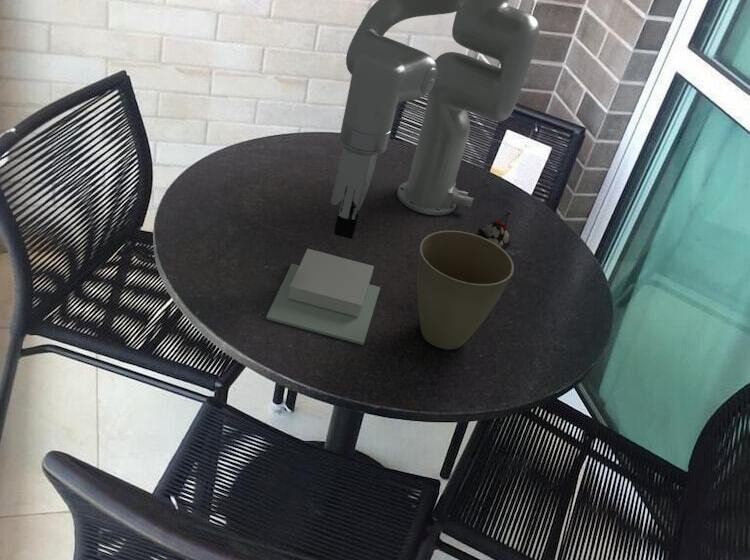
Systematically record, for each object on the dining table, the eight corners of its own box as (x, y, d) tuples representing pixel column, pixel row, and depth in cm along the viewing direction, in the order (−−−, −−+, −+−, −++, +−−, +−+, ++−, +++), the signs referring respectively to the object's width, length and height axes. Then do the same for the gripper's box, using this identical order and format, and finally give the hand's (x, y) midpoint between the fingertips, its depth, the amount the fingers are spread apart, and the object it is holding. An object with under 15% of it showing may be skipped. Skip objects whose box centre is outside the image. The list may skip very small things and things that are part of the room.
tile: (374, 266, 141) (361, 305, 131) (371, 278, 143) (358, 318, 133) (307, 248, 142) (290, 286, 132) (305, 261, 143) (287, 299, 133)
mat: (379, 289, 141) (380, 287, 141) (363, 345, 128) (363, 342, 128) (291, 265, 142) (291, 263, 142) (265, 318, 129) (266, 316, 128)
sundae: (498, 280, 151) (523, 212, 143) (491, 299, 146) (515, 229, 137) (465, 268, 152) (487, 200, 144) (456, 286, 147) (479, 216, 139)
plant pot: (480, 313, 142) (506, 238, 133) (491, 371, 129) (521, 291, 120) (396, 301, 140) (417, 223, 131) (399, 358, 128) (423, 276, 119)
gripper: (350, 110, 131) (331, 207, 142) (331, 148, 119) (311, 251, 129) (395, 122, 131) (373, 218, 141) (380, 161, 119) (357, 263, 129)
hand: (343, 234), depth 135 cm, fingers closed
